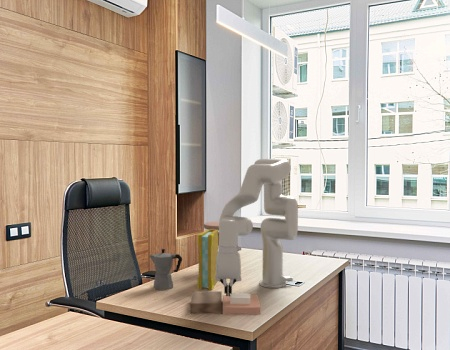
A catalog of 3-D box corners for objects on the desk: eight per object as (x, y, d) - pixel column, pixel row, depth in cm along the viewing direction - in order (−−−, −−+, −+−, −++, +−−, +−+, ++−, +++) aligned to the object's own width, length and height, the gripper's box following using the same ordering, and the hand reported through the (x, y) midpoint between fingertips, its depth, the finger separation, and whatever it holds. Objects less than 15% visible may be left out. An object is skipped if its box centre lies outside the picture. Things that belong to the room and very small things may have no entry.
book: (212, 290, 211) (212, 235, 210) (197, 289, 213) (197, 234, 212) (219, 280, 228) (219, 229, 227) (206, 279, 229) (206, 229, 228)
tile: (250, 299, 189) (250, 293, 189) (250, 304, 183) (250, 298, 183) (230, 299, 189) (230, 293, 189) (229, 303, 183) (229, 297, 183)
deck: (221, 300, 195) (221, 291, 195) (221, 313, 179) (221, 303, 179) (193, 300, 195) (193, 291, 195) (190, 313, 179) (190, 303, 179)
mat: (257, 300, 195) (257, 295, 195) (260, 313, 179) (260, 307, 179) (222, 300, 195) (222, 295, 195) (222, 313, 179) (222, 307, 179)
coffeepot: (146, 290, 211) (146, 250, 211) (151, 284, 221) (151, 246, 220) (180, 290, 210) (180, 251, 209) (183, 285, 219) (183, 247, 219)
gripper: (246, 248, 190) (246, 292, 191) (210, 248, 190) (209, 292, 191) (247, 251, 183) (247, 298, 183) (209, 251, 183) (209, 298, 183)
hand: (228, 295), depth 187 cm, fingers closed
